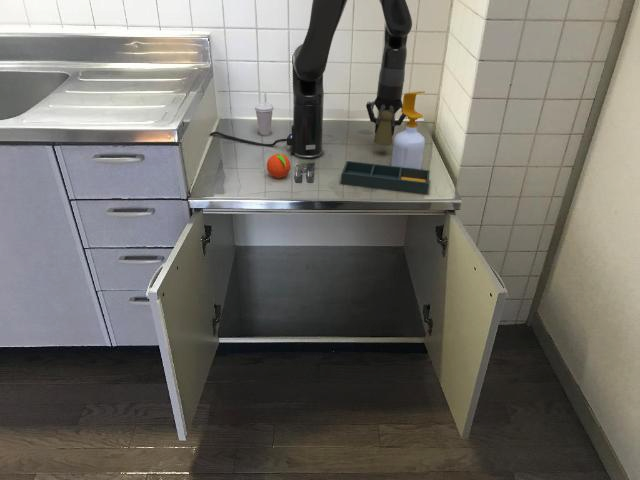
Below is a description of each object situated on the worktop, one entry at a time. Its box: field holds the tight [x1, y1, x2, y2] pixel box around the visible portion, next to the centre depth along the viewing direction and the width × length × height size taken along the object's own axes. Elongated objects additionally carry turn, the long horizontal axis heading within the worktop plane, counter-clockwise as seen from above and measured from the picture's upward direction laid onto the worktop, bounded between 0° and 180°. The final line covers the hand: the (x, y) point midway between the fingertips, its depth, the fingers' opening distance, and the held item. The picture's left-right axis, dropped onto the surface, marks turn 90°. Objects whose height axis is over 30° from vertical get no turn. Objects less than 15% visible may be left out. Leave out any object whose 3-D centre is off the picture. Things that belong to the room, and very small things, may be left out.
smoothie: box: [254, 92, 275, 136], centre depth 171 cm, size 6×6×14 cm
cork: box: [373, 110, 396, 147], centre depth 158 cm, size 6×6×11 cm
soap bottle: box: [390, 90, 426, 169], centre depth 147 cm, size 9×9×25 cm
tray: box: [340, 160, 430, 195], centre depth 146 cm, size 25×9×3 cm, turn 78°
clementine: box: [266, 153, 292, 179], centre depth 145 cm, size 8×7×7 cm
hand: (384, 135), depth 160 cm, fingers closed on cork, 3 cm apart
